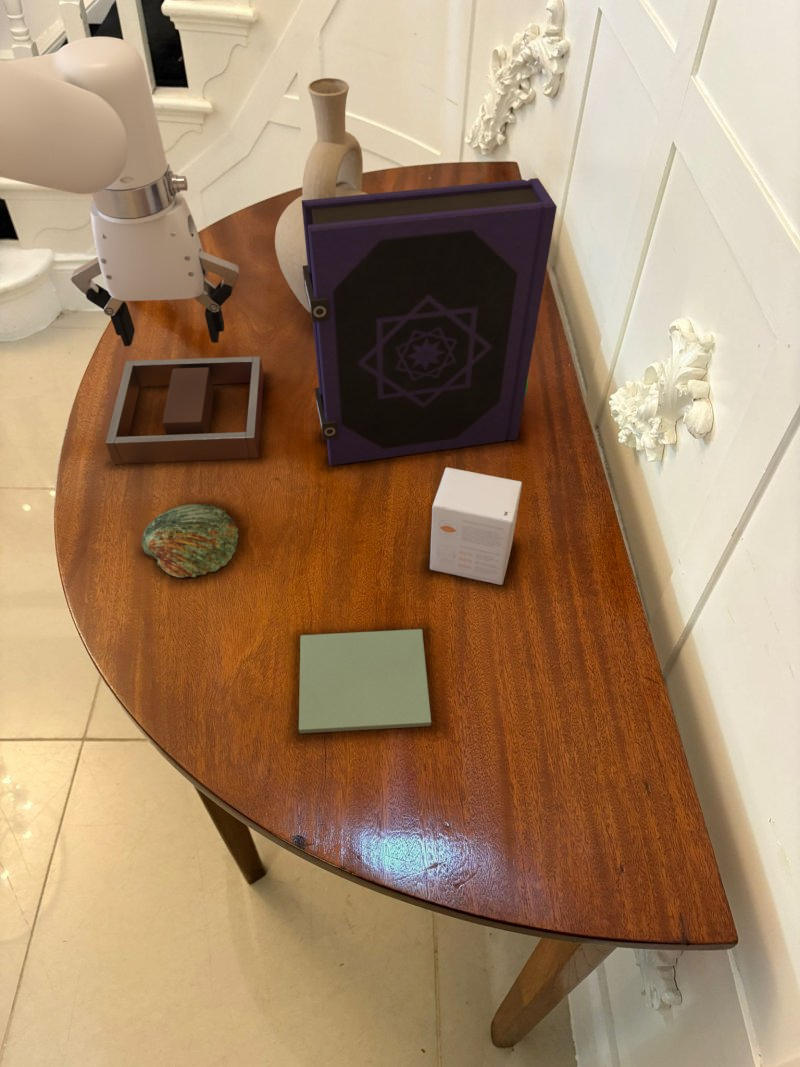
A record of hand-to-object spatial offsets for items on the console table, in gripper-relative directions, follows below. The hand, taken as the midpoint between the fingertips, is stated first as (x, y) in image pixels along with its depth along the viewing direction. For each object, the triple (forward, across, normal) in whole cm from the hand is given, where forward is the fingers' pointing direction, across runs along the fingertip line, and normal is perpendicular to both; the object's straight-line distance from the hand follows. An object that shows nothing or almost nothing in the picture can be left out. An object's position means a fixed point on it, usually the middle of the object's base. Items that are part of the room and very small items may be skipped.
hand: (173, 337), depth 88 cm
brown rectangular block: (+12, 0, 0) cm, 12 cm away
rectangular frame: (+12, 0, 0) cm, 12 cm away
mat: (+12, -20, +38) cm, 45 cm away
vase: (+13, -19, -22) cm, 31 cm away
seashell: (+12, -2, +20) cm, 24 cm away
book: (+12, -28, +5) cm, 31 cm away
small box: (+12, -32, +24) cm, 42 cm away
